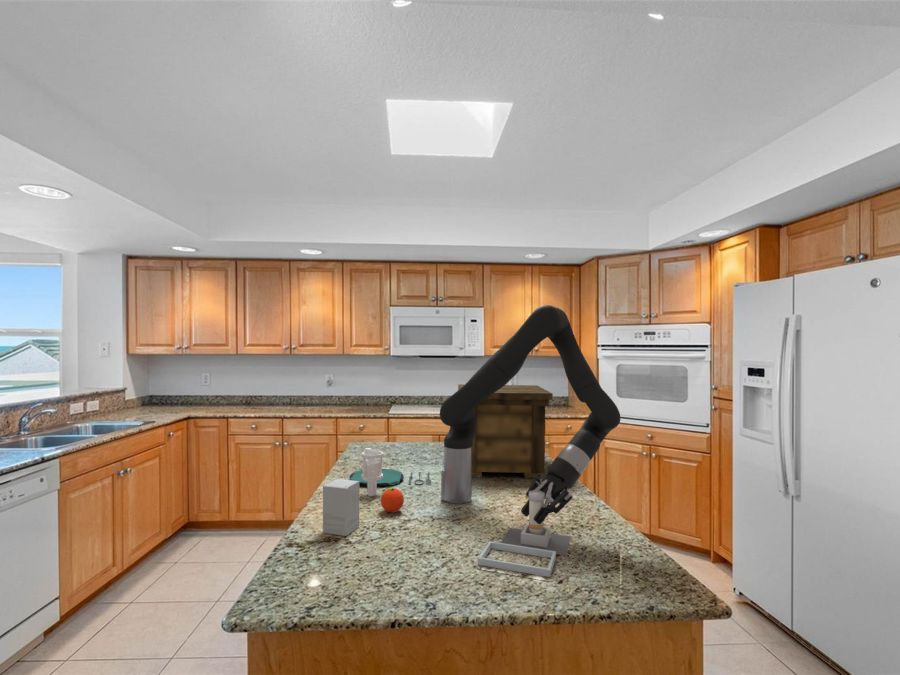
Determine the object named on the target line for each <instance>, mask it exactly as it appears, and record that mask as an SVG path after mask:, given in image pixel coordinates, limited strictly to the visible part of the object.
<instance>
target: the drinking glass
mask: <svg viewBox="0 0 900 675" xmlns="http://www.w3.org/2000/svg"><path fill="white" fill-rule="evenodd" d="M383 457H384V452H383V451H380V450H373V448H369V447H366V448H364V451H363V452H361V458H362V470H363V474H362V480H365V481H368V485H366V487H367V496H368V497H374V496H377V495H378V494H377V493H378V492H377V488H378V485H377V480H381V479H383V474H382V469H383ZM373 459H374V460H373Z"/></svg>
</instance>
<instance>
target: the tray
mask: <svg viewBox="0 0 900 675" xmlns="http://www.w3.org/2000/svg"><path fill="white" fill-rule="evenodd" d="M491 549H492V550H497V551H503V552H504V551H505V552H509V553H510V552H511V553H517V554H523V555H529V556H535V557H540V558H541V557H542V558H549V563H548V566H547V567H542V566H541V567H540V566H534V565H529V564H522V563H517V562H510V561H504V560H498V559H493V558H487V556H488V554H489V552H490V551H491ZM556 559H557V554H556V551H550V550H543V549H537V548H530V547H524V546H517V545H511V544H504V543H501V542H497V541H488V542H487V544H486V545H485V547H484V549H483V550H482V551H481V553H480V555H479V556H478V557H477V565H479V566H483V567H490V568H496V569H500V570H508V571H513V572H519V573H525V574H530V575H536V576H542V577H547V578H548V577H549V578H550V577H551V575H552V572H553V568H554V565H555V562H556ZM477 571H482V572H488V573H494V574H499V575H504V576H505V575H506V576H512V577H516V578H518V577H519V578H522V579H529V580H532V581H533V580H534V581H539V582H545V583H551V581H549V580H543V579H538V578H530V577H526V576H520V575H514V574H509V573H503V572H499V571H498V572H497V571H493V570H492V571H491V570H485V569H481V568H480V569H479V568H478V569H477Z"/></svg>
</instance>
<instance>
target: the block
mask: <svg viewBox="0 0 900 675" xmlns="http://www.w3.org/2000/svg"><path fill="white" fill-rule="evenodd" d="M551 531H552V530H551V527H546V526H544V528H543V534H544V535H537V534H530V533H529V524H525V526H524V527H523V529H521V528H513V527H509V528H508V530H507V531H506V533H505V535H504V536H503V538H502V540H501V541H500V543H504V544H511V545H517V546H524V547H530V548H537V549H543V550H550V551H556V555H561V556H566V555H567V552H568V548H569V545H570V541H571V538H572V537H571V536H570V535H564V534H557V533H556V534H555V533H552V532H551Z"/></svg>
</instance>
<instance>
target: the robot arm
mask: <svg viewBox="0 0 900 675" xmlns="http://www.w3.org/2000/svg"><path fill="white" fill-rule="evenodd" d="M547 338H548V339H549V340H550V342H551V343H552V344H553V345H554V347H555V348H556V351H557V353H558V354H559V355H560V359H561V363H562V365H563V368H564V372H565V376H566V378H567V380H568V382H569V385H570V386H571V388H572V390H573V391H574V393H575V395H576V398H577V399H578V400H579V402H581V403H584V404H586V406H587V407H588V409H589V410H590V413H589V415H587V417H586V419H585V420H584V422H583V424H582V425H581V426H580V428H579V430H578V431H577V432H576V433H575V434H574V435H573V437H572V438H571V439H570V440H569V441H568V443H567V444H566V446H564V447H563V448H562V450H561V451H560V452H559V453H558V455H557V456H556V457H555V458H554V460H553V461H552V463H551V464H550V465H549V466H548V468H547V469H546V471H547V475H546V476H545V477H543V478H542V479H541V478H539V476H537V477H535V478H533V480H532V482H531V484H530V485H529V488H528V489H527V491H526V493H525V495H526V497H527V498H528V500H527V501H526V502H525V504H524V505H523V507H522V508H521V509H520V512H521V514H522V515H523V516H524V517H529V491H542V492H544V493H545V500H544V505H543V507H544V508H543V507H541V509H540V510H539V511H538V513H537V514H536V515H535V517H534V521H535V522H536V523H538V524H541V523H542V522H543V523H544V521H545V520H546V518H547V517H548V516H549V514H552V513H554V514H555V515H556V514H559V513H560V511H561V510H562V509H564V507H566V506H567V504H568V503H570V502H571V500H573V495H572V494H571V493H570V491H568V490H570V489H572V488H573V487H574V486H575V485H576V483H577V481H579V479H580V478H581V476H582V475H583V474H584V472H585V470H586V469H587V467H588V466H589V464H590V462H591V461H592V459H593V458H594V457H595V455H596V453H598V451H599V449H600V447H601V443H602V442H603V441H604V440H605V438H606V437H607V436H608V434H609V433H610V432H611V431H612V430H614V429H616V428H617V427H618V426H619V424H620V422H621V413H620V410H619V408H618V406H617V404H616V403H615V402H614V400H613V399H612V398H611V397H610V395H608V393H607V392H605V391H604V389H603V388H602V387H601V385H600V383H599V381H598V379H597V377H596V376H595V374H594V372H593V370H592V369H591V367H590V365H589V363H588V362H587V360H586V358H585V357H584V354H583V351H582V350H581V349H580V346H579V344H578V341H577V339H576V336H575V333H574V331H573V328H572V325H571V322H570V320H569V318H568V316H567V314H566V312H565V311H564V310H562V309H561V308H559V307H556V306H554V305H550V304H544V305H541V306H539V307H537V308H535V309H534V310H533V311H532V312H531V314H530V315H529V316H528V317H527V319H526V320H525V321H524V323H523V324H522V325H521V326H520V327H519V329H518V330H517V331H516V332H515V333H514V334H513V335H512V336H511V337H510V338H509V339H508V340H507V341H506V342H505V343H504V344H502V346H500V348H499V349H498V350H497V351H495V353H493V354H492V355H491V356H490V357H489V358H488V359H487V360H486V361H485V362H484V364H483V365H481V367H480V368H479V369H478V370H477V371H476V372H475V373H474V374H473V375H472V377H470V378H469V380H468V381H467V382H466V383H465V385H464V386H463V387H462V388H461V389H459V390H458V389H457V391H456V392H453V394H452V395H450V396H449V397H448V398H447V399H446V400H444V401H443V403H442V404H441V405H440V406H441V407H440V410H439V418H440V420H441V422H442V423H443V424H444V425H446V426H447V427H449V430H448V432H447V434H446V435H445V437H444V439H443V469H442V470H441V472H440V473H441V474H440V476H441V479H440V480H441V483H440V486H441V488H440V489H441V491H440V493H441V494H440V500H441V501H445V502H447V503H451V504H465V503H469V502H471V501H472V489H473V487H472V486H473V484H472V483H473V479H472V478H473V477H472V441H473V439H474V435H475V420H476V411H475V406H476V405H477V404H478V403H479V402H480V401H482V400H483V399H485V398H486V397H488V396H490V395H491V394H493V393H495V392H496V391H498V390H499V389H501V388H502V387H503V386H504V385H508V383H509V382H510V381H511V380H512V379H513V378H514V377H515V376H517V374H518V373H519V372H520V371H521V369H522V367H523V365H524V363H525V361H526V359H527V357H528V356H529V354H530V353H531V352H532V350H533V349H534V348H536V347H537V346H538V345H539V344H540V343H541V342H542V341H544V340H545V339H547Z"/></svg>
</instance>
